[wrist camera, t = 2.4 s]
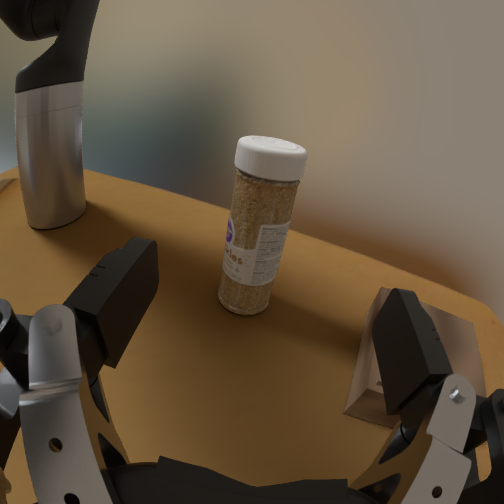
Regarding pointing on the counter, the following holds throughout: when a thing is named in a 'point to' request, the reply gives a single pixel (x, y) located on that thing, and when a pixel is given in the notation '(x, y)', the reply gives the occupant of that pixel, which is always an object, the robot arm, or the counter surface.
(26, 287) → the counter surface
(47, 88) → the robot arm
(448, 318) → the walnut plinth
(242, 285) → the sprinkles bottle
